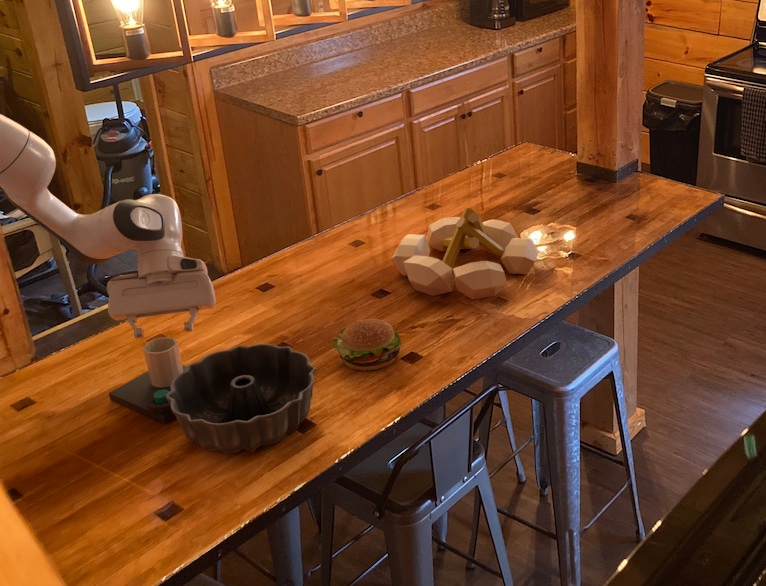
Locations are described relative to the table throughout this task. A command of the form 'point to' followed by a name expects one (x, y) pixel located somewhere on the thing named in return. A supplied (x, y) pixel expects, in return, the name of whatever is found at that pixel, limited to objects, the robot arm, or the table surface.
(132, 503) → the table surface
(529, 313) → the table surface
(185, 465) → the table surface
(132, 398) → the scale
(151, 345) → the white cup
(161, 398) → the button
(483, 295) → the campfire
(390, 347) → the food
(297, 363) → the bundt pan
